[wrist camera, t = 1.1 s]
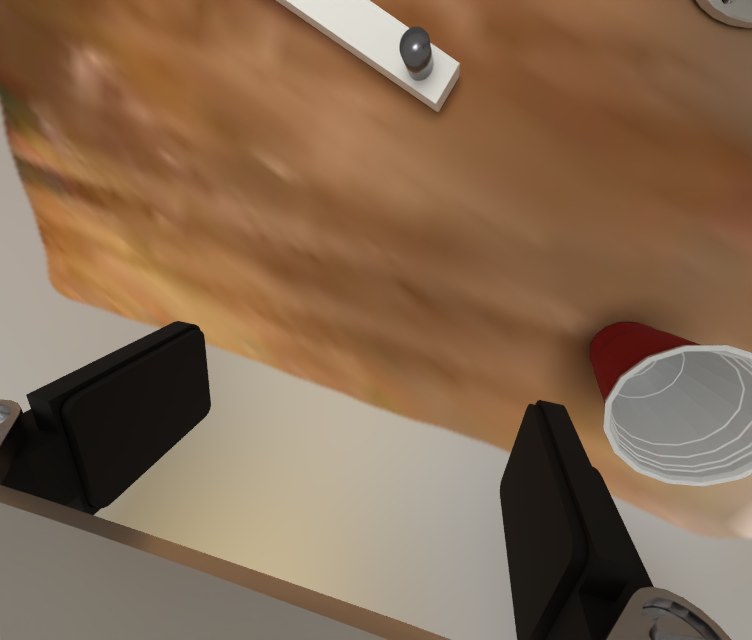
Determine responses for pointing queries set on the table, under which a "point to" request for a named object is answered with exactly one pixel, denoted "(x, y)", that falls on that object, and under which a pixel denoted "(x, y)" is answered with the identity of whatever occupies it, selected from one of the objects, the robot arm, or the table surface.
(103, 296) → the table surface
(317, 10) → the bar
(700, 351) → the plastic cup
